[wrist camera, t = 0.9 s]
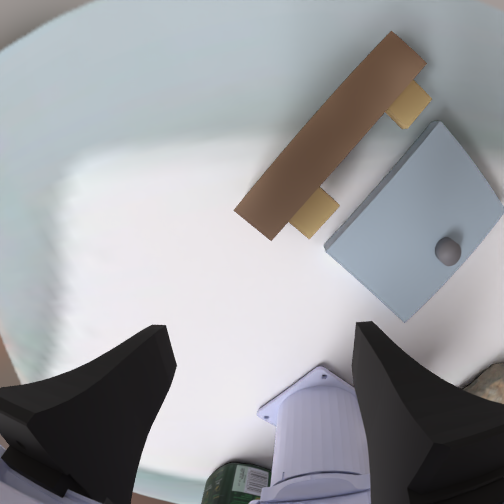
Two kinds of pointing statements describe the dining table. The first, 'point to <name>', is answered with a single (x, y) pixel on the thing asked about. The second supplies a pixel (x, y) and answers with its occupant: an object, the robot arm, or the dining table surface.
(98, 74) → the dining table surface
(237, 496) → the coffee jar
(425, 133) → the door panel
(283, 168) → the brown long block
